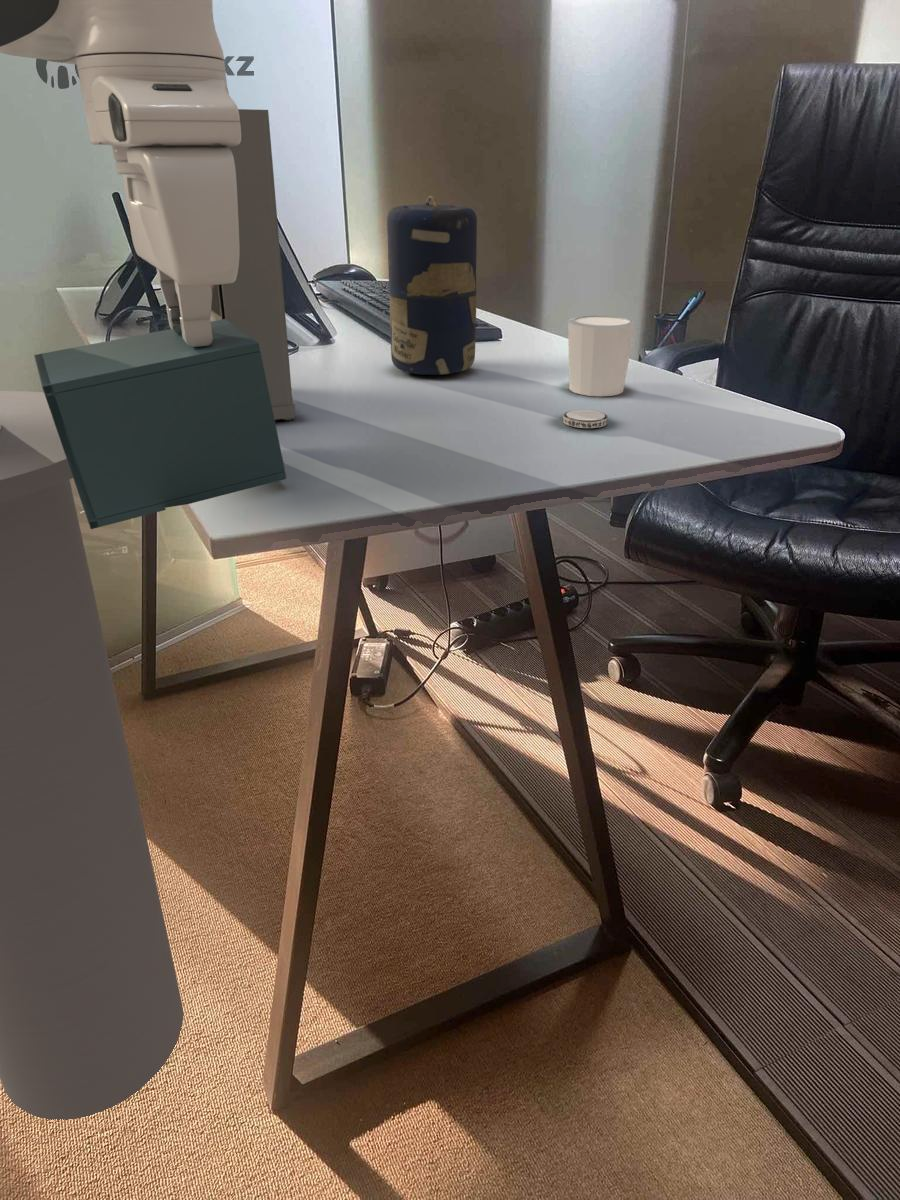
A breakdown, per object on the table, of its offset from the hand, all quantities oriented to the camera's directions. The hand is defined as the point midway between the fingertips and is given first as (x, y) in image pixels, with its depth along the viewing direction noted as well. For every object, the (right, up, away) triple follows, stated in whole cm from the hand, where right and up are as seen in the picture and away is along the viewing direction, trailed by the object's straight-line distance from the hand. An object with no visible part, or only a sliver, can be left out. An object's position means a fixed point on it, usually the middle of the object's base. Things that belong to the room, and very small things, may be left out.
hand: (191, 338), depth 61 cm
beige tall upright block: (-2, 0, +23) cm, 23 cm away
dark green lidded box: (-2, -10, +4) cm, 11 cm away
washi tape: (+31, -2, +18) cm, 36 cm away
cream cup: (+34, +3, +29) cm, 45 cm away
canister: (+16, +7, +36) cm, 41 cm away
